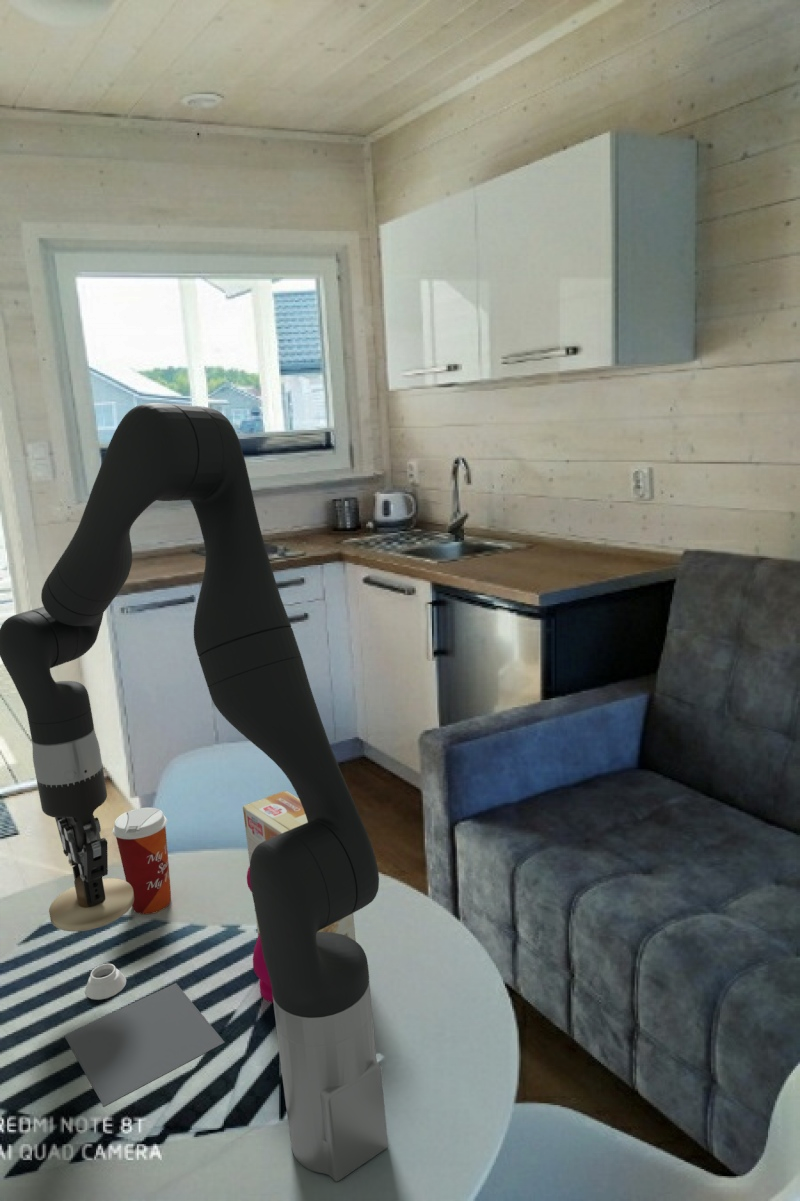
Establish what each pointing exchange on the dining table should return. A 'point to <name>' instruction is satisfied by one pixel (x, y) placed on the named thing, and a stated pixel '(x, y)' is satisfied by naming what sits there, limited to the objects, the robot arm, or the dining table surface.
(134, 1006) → the mat
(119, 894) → the lid
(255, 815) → the coffeecake box
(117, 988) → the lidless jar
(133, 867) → the paper cup
